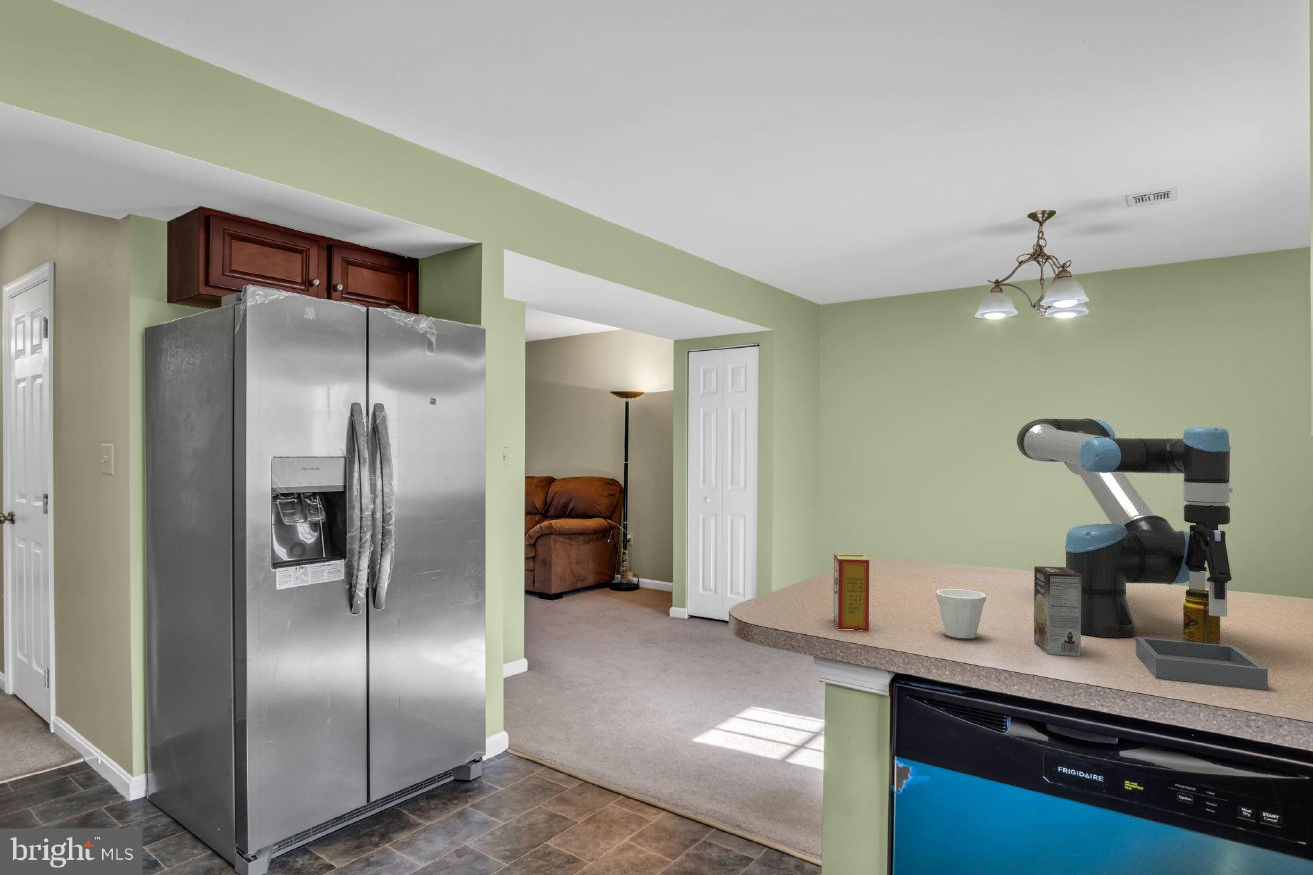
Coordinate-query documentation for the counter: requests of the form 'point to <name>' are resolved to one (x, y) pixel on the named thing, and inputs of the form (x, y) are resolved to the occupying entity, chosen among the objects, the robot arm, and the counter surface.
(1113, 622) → the robot arm
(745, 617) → the counter surface
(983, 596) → the cup
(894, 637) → the counter surface
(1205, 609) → the condiment
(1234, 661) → the tray
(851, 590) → the baking soda box
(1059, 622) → the coffee box
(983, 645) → the counter surface
